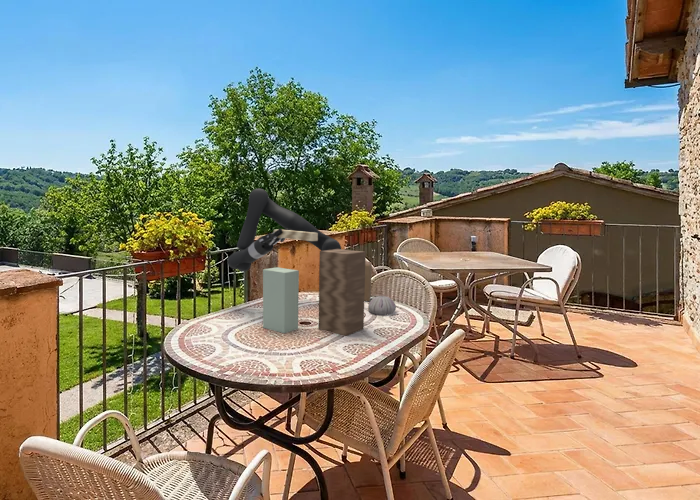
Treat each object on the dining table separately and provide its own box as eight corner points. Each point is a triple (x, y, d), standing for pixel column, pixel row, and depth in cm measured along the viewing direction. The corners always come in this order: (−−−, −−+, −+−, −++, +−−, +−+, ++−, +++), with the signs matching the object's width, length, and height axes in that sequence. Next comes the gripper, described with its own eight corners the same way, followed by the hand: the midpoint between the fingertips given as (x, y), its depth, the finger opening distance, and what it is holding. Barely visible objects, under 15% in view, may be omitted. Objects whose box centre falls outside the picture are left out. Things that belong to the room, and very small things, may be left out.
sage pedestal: (263, 327, 180) (263, 269, 178) (277, 323, 187) (277, 267, 184) (284, 333, 173) (284, 272, 171) (298, 328, 180) (298, 270, 177)
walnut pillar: (318, 329, 180) (319, 251, 176) (336, 323, 190) (338, 248, 186) (346, 336, 172) (347, 254, 168) (363, 329, 181) (365, 251, 178)
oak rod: (273, 237, 189) (273, 229, 189) (279, 236, 192) (279, 229, 192) (312, 241, 176) (312, 233, 176) (317, 240, 179) (317, 232, 179)
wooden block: (370, 298, 240) (371, 261, 238) (369, 302, 230) (370, 264, 228) (352, 297, 241) (353, 260, 239) (350, 301, 231) (351, 263, 229)
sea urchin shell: (401, 313, 209) (402, 296, 208) (382, 318, 200) (382, 300, 199) (381, 307, 219) (381, 291, 218) (361, 312, 210) (362, 295, 209)
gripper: (245, 240, 192) (269, 222, 182) (269, 239, 204) (293, 222, 194) (251, 256, 191) (275, 239, 181) (274, 253, 202) (299, 237, 192)
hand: (284, 230), depth 187 cm, fingers closed on oak rod, 3 cm apart
